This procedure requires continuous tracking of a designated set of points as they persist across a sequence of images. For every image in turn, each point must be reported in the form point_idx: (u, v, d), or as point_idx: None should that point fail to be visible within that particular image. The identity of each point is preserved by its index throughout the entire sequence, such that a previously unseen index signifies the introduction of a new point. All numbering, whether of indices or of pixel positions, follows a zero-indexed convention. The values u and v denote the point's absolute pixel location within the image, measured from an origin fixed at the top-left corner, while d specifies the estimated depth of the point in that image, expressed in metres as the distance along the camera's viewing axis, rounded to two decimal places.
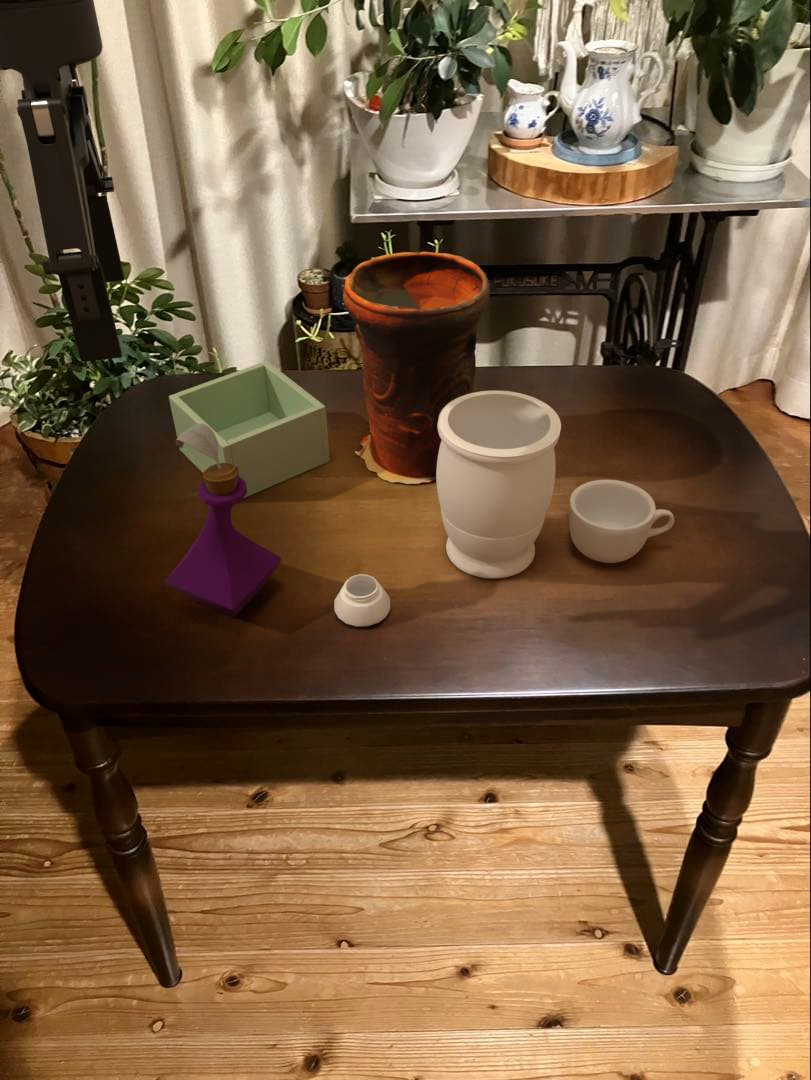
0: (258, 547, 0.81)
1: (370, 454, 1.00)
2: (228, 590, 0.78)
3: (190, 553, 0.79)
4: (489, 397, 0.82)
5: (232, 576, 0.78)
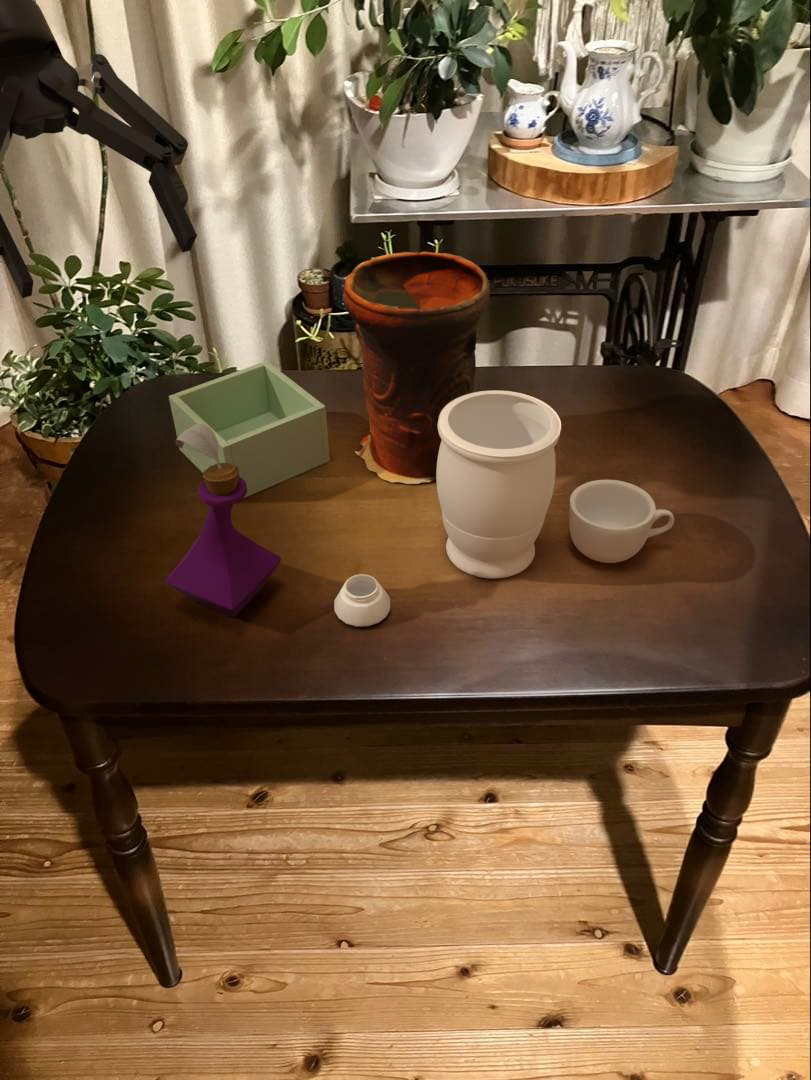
0: (258, 547, 0.81)
1: (370, 454, 1.00)
2: (228, 590, 0.78)
3: (190, 553, 0.79)
4: (489, 397, 0.82)
5: (232, 576, 0.78)
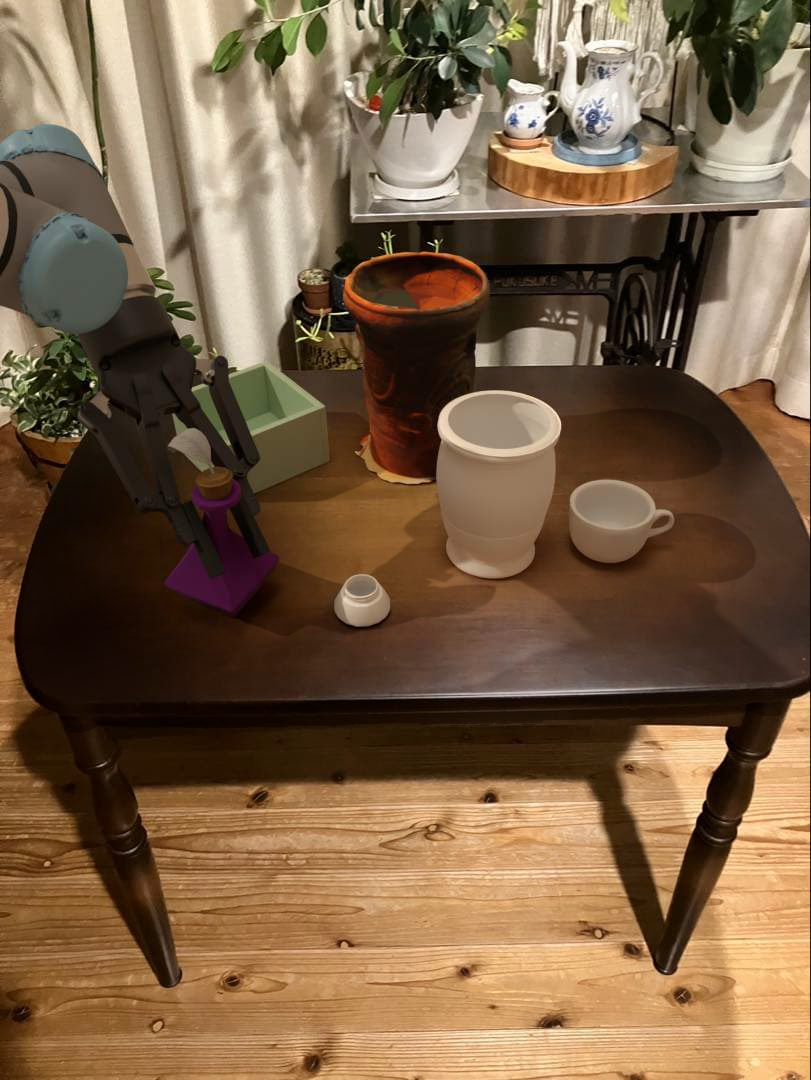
0: None
1: (370, 454, 1.00)
2: (226, 592, 0.78)
3: (187, 555, 0.79)
4: (489, 397, 0.82)
5: (230, 578, 0.78)
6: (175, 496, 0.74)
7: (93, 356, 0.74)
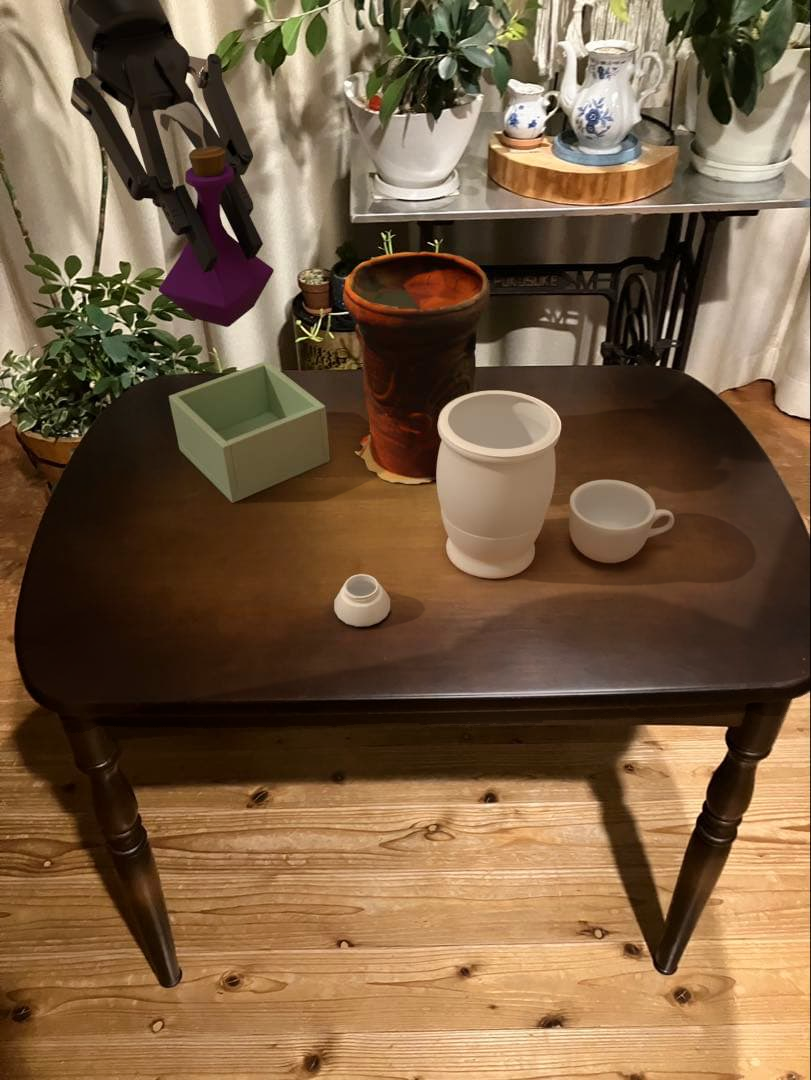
0: None
1: (370, 454, 1.00)
2: (220, 288, 0.78)
3: (181, 255, 0.79)
4: (489, 397, 0.82)
5: (224, 275, 0.78)
6: (168, 178, 0.75)
7: (86, 36, 0.74)
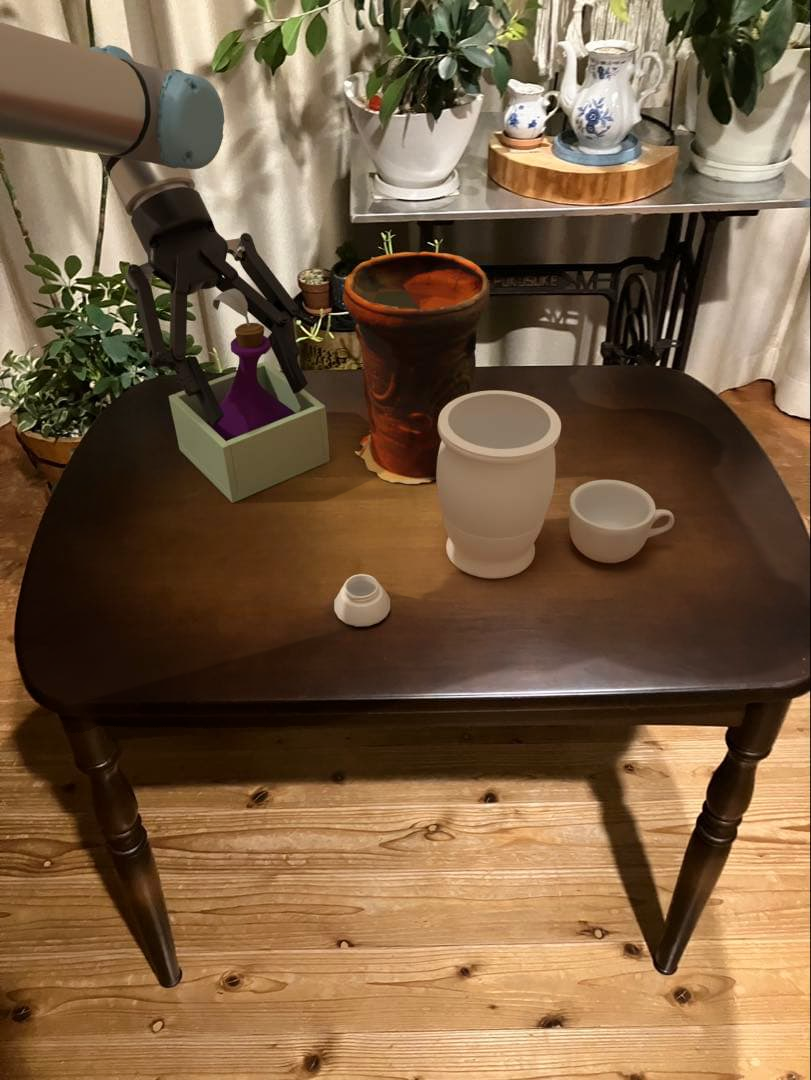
0: (278, 402, 0.97)
1: (370, 454, 1.00)
2: None
3: (222, 404, 0.95)
4: (489, 397, 0.82)
5: (258, 422, 0.94)
6: (182, 352, 0.89)
7: (144, 236, 0.90)
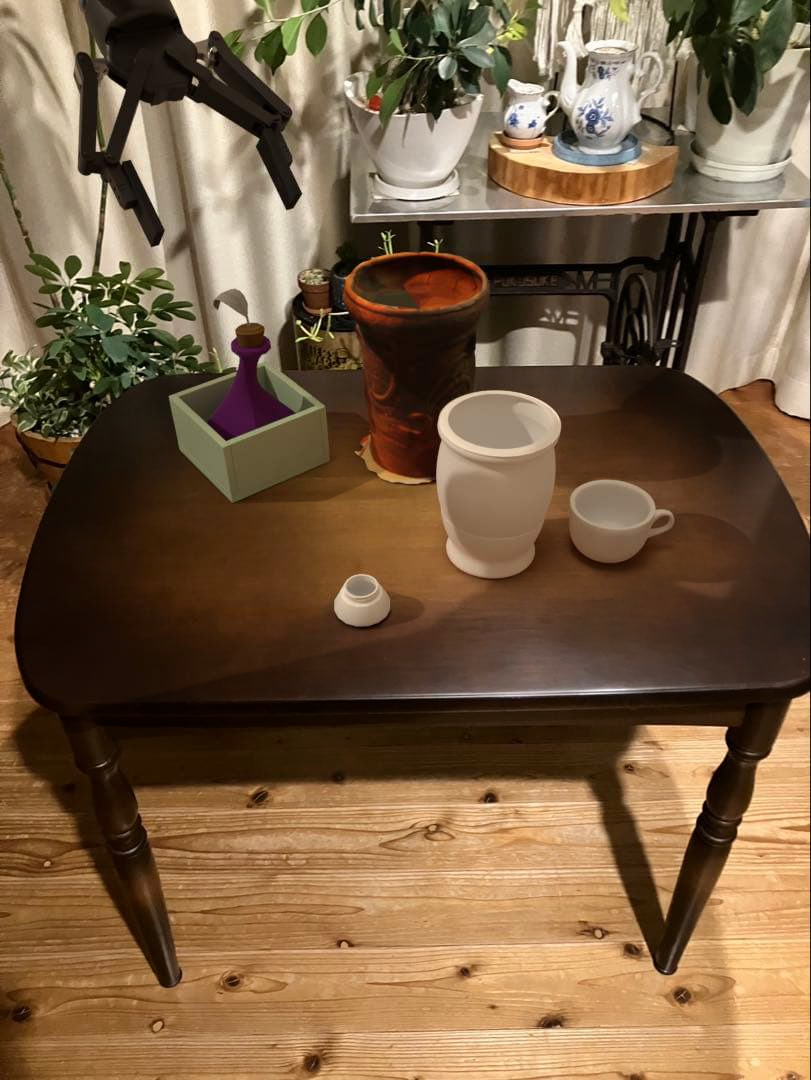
0: (278, 402, 0.97)
1: (370, 454, 1.00)
2: None
3: (222, 404, 0.95)
4: (489, 397, 0.82)
5: (258, 422, 0.94)
6: (116, 155, 0.76)
7: (99, 31, 0.78)
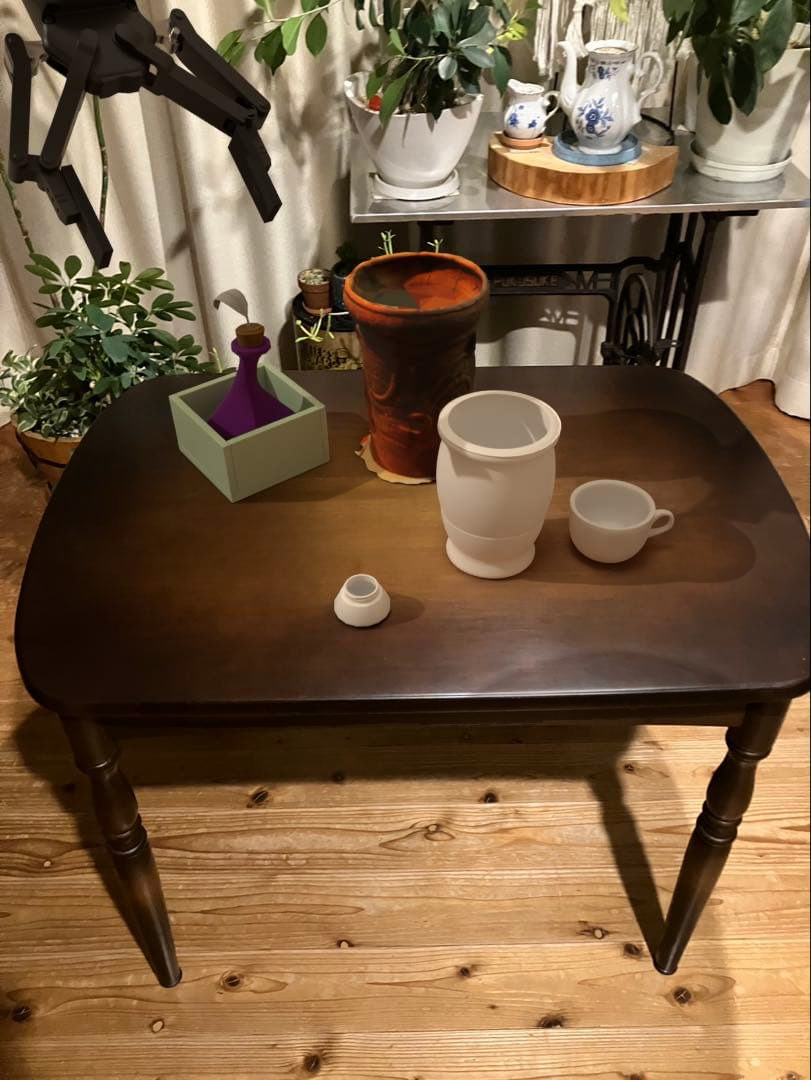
0: (278, 402, 0.97)
1: (370, 454, 1.00)
2: None
3: (222, 404, 0.95)
4: (489, 397, 0.82)
5: (258, 422, 0.94)
6: (53, 159, 0.62)
7: (35, 7, 0.64)
